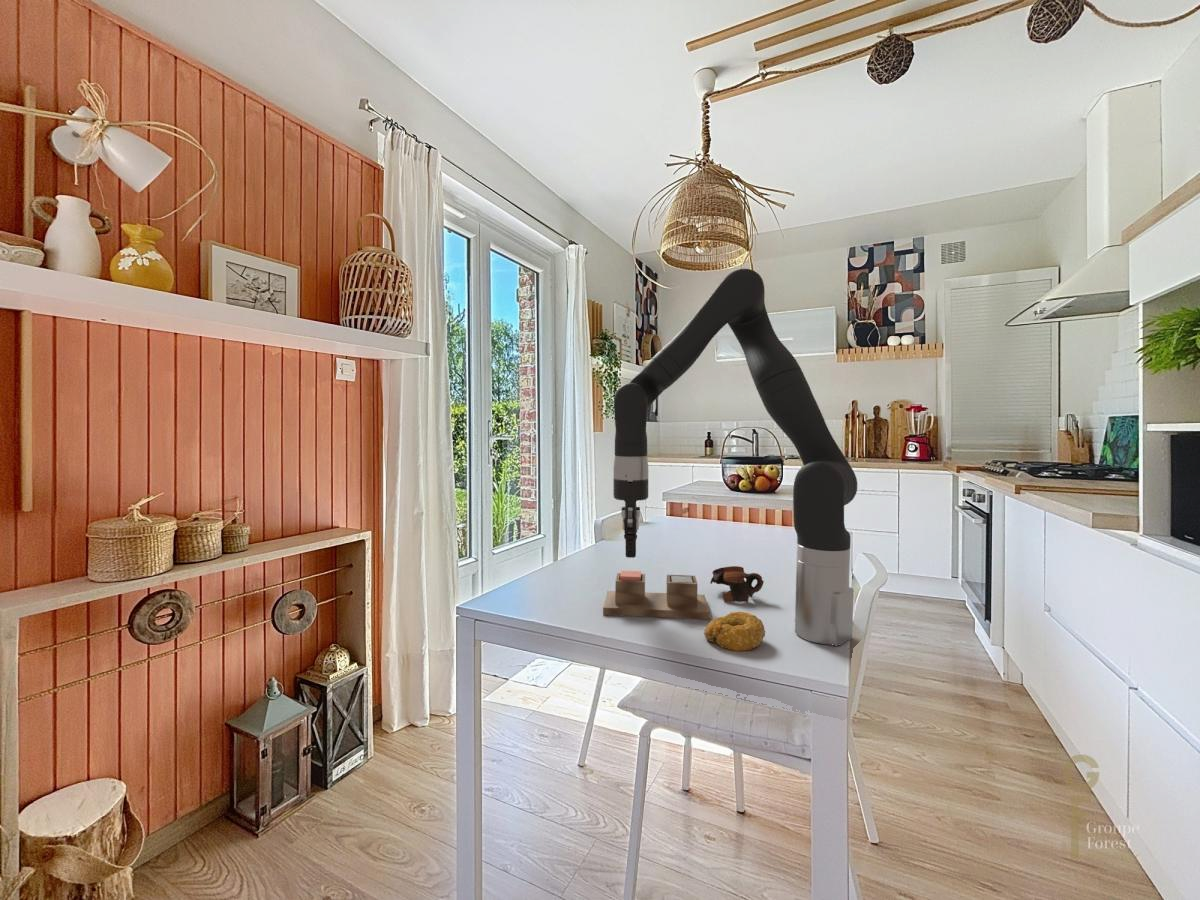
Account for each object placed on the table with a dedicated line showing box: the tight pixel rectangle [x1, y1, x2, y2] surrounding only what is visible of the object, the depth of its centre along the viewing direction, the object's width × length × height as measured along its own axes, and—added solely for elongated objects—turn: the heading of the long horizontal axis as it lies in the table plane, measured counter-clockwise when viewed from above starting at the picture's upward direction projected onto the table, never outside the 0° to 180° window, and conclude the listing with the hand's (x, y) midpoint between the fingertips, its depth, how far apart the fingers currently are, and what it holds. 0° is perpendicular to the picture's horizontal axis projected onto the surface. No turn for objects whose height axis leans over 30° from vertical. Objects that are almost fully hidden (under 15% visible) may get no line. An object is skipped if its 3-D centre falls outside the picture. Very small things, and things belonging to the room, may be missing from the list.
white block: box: [671, 576, 693, 583], centre depth 113 cm, size 4×4×5 cm
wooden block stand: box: [602, 572, 711, 620], centre depth 113 cm, size 22×11×6 cm, turn 84°
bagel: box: [703, 611, 766, 652], centre depth 96 cm, size 10×11×5 cm
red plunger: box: [620, 570, 642, 581], centre depth 114 cm, size 4×4×5 cm
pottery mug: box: [709, 565, 765, 603], centre depth 121 cm, size 12×10×8 cm
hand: (630, 556), depth 113 cm, fingers closed
